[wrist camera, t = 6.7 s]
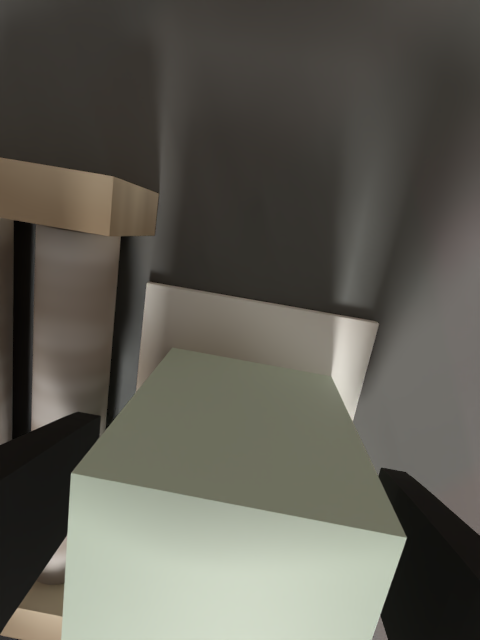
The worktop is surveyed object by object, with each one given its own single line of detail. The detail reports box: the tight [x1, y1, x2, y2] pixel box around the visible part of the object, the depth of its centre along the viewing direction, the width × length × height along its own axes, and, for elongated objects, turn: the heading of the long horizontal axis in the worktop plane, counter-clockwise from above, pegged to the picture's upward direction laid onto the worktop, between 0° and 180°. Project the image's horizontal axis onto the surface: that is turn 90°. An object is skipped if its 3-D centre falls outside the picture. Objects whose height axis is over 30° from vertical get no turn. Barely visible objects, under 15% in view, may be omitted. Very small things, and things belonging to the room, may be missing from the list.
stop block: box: [61, 347, 407, 640], centre depth 9 cm, size 6×5×6 cm
